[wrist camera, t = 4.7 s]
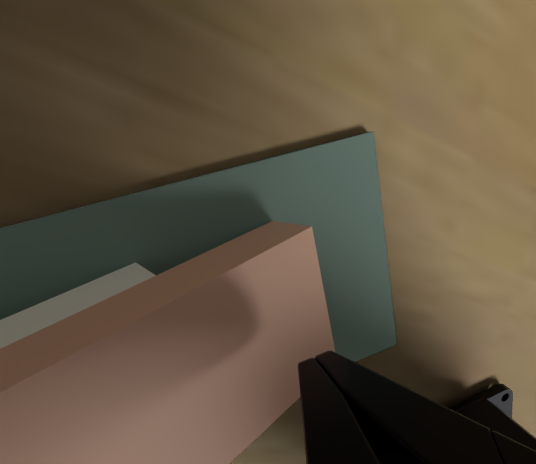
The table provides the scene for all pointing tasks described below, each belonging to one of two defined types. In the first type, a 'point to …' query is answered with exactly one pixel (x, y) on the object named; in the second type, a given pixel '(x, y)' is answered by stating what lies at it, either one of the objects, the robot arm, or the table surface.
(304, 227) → the domino
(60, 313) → the domino
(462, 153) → the table surface
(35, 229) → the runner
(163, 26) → the table surface
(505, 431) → the robot arm
